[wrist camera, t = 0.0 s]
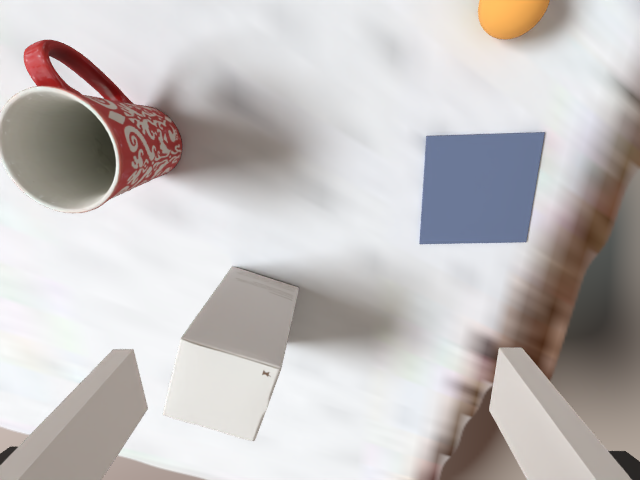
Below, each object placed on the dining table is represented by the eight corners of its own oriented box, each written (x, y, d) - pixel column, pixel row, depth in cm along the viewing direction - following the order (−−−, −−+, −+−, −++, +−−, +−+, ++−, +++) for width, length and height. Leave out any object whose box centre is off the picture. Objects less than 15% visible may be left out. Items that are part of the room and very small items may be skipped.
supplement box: (230, 263, 42) (178, 335, 28) (300, 286, 43) (284, 368, 28) (213, 324, 45) (158, 417, 31) (279, 344, 45) (255, 445, 31)
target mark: (426, 136, 36) (427, 136, 36) (543, 132, 36) (544, 132, 35) (419, 243, 40) (420, 244, 40) (525, 241, 40) (526, 242, 39)
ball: (472, -21, 32) (499, -50, 26) (533, -25, 31) (573, -54, 26) (466, 46, 33) (490, 32, 28) (524, 43, 33) (559, 29, 28)
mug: (202, 175, 38) (137, 202, 26) (127, 190, 39) (29, 223, 27) (165, 51, 35) (66, 10, 22) (82, 71, 35) (-58, 42, 23)
